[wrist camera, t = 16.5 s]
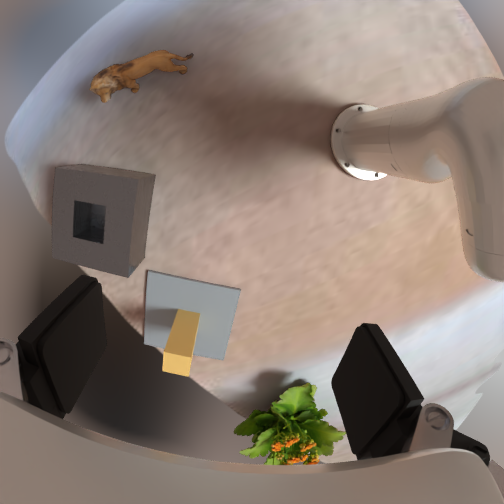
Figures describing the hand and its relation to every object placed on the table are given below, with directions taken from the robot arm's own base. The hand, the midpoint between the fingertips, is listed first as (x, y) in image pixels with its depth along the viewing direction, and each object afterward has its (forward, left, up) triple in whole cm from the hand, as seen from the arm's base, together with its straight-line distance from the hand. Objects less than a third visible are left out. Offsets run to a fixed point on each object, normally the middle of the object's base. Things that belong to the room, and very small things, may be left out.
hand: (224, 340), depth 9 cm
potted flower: (-23, +46, -35) cm, 62 cm away
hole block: (+20, +6, -35) cm, 40 cm away
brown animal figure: (+18, -16, -35) cm, 42 cm away
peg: (+4, +23, -34) cm, 41 cm away
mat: (+4, +23, -35) cm, 42 cm away
